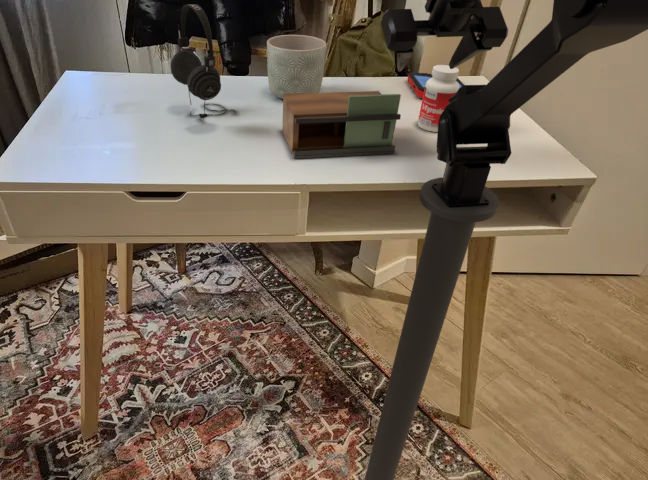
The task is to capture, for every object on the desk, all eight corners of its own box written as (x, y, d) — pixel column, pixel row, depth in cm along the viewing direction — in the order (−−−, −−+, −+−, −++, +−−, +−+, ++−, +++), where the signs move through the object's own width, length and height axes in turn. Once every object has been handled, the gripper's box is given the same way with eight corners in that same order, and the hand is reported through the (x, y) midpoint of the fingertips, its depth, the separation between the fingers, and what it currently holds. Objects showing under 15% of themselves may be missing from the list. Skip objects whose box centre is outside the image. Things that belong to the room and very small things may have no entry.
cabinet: (394, 154, 88) (401, 115, 84) (294, 159, 85) (296, 119, 81) (373, 127, 97) (378, 90, 93) (282, 130, 94) (283, 93, 90)
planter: (280, 108, 103) (281, 52, 97) (257, 89, 112) (257, 37, 105) (332, 101, 108) (337, 47, 101) (307, 83, 116) (310, 32, 110)
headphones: (253, 126, 96) (252, 11, 83) (198, 136, 91) (188, 16, 79) (221, 100, 106) (216, -6, 93) (170, 108, 101) (157, -2, 89)
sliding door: (392, 146, 88) (401, 95, 82) (344, 149, 87) (350, 97, 81) (390, 144, 89) (399, 93, 83) (343, 146, 87) (348, 95, 82)
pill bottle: (412, 128, 97) (424, 69, 90) (423, 118, 102) (434, 61, 95) (443, 135, 95) (458, 75, 88) (453, 125, 99) (467, 67, 92)
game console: (475, 102, 109) (478, 92, 108) (417, 101, 109) (419, 91, 108) (456, 81, 121) (459, 71, 119) (404, 80, 120) (406, 70, 119)
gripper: (510, -56, 74) (464, 29, 88) (388, -55, 71) (362, 32, 86) (533, 1, 70) (481, 80, 84) (406, 4, 67) (375, 85, 82)
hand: (424, 68), depth 84 cm, fingers open, 9 cm apart
